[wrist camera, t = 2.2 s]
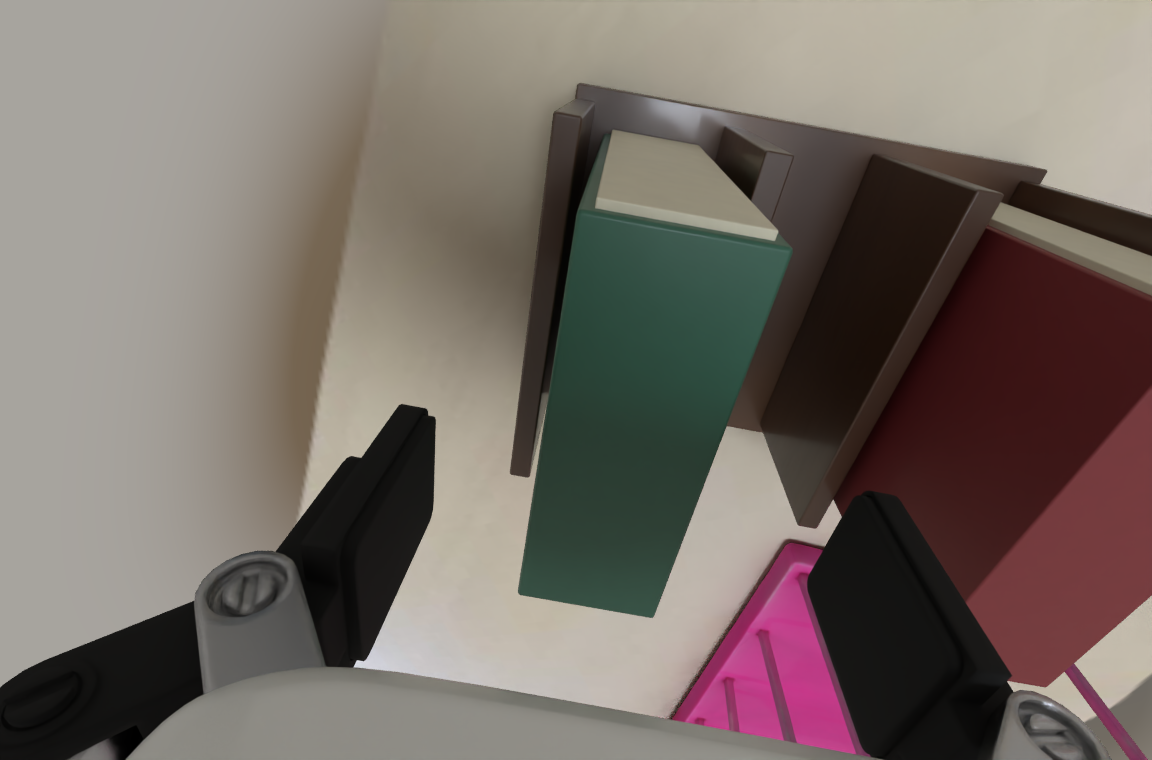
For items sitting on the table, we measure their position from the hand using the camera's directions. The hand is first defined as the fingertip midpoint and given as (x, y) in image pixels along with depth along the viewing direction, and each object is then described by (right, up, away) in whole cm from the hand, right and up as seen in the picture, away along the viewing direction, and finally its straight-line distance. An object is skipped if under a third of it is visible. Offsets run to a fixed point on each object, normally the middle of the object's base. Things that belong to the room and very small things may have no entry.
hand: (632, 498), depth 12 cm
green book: (+1, +7, +12) cm, 14 cm away
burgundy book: (+12, +5, +12) cm, 18 cm away
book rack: (+7, +7, +13) cm, 16 cm away
